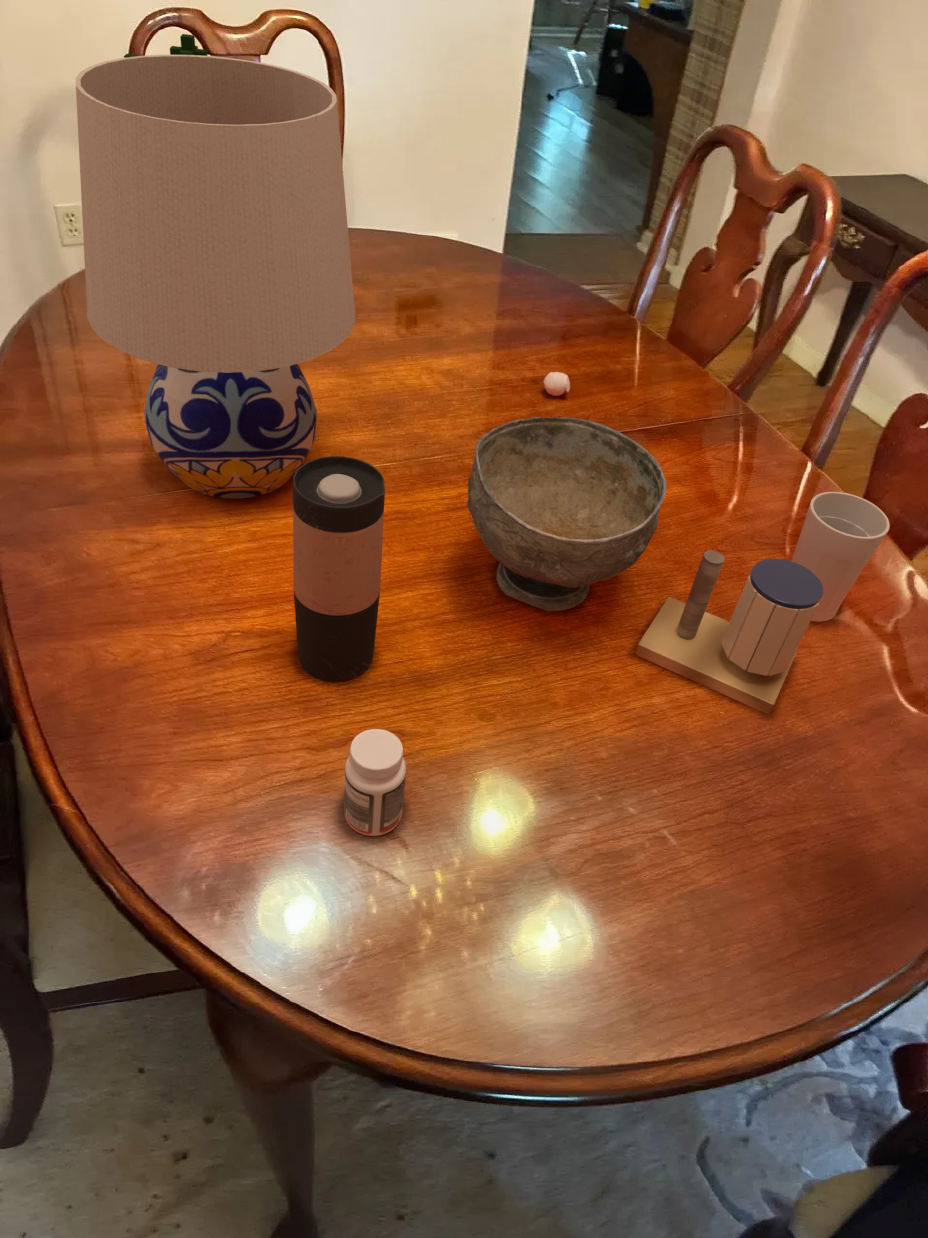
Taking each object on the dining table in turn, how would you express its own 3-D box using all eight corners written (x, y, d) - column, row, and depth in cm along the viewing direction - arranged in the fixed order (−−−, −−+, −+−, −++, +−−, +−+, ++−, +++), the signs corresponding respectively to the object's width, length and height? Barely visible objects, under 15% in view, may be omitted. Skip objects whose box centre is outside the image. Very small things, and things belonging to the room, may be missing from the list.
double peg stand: (792, 661, 95) (834, 575, 87) (768, 715, 88) (811, 628, 81) (665, 606, 99) (694, 519, 91) (634, 654, 93) (663, 566, 85)
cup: (774, 618, 99) (815, 529, 91) (768, 572, 105) (806, 485, 97) (849, 633, 99) (896, 544, 91) (838, 586, 105) (882, 499, 97)
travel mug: (278, 652, 88) (271, 475, 74) (339, 617, 92) (343, 444, 79) (331, 697, 84) (334, 520, 71) (392, 658, 89) (406, 485, 75)
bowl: (523, 671, 89) (549, 550, 79) (423, 556, 101) (434, 437, 90) (674, 612, 98) (715, 496, 88) (566, 512, 109) (592, 399, 99)
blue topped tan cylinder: (797, 644, 92) (831, 575, 86) (779, 685, 87) (813, 615, 81) (734, 618, 94) (762, 548, 88) (713, 656, 89) (742, 586, 83)
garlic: (565, 404, 129) (569, 391, 132) (571, 382, 127) (574, 369, 130) (530, 395, 129) (535, 382, 132) (535, 374, 127) (540, 361, 130)
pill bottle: (398, 787, 78) (404, 722, 72) (405, 835, 74) (412, 770, 69) (341, 791, 77) (343, 725, 71) (346, 840, 73) (348, 774, 68)
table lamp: (106, 540, 97) (26, 123, 70) (121, 406, 116) (63, 39, 89) (364, 530, 103) (381, 142, 76) (338, 405, 122) (344, 59, 95)
